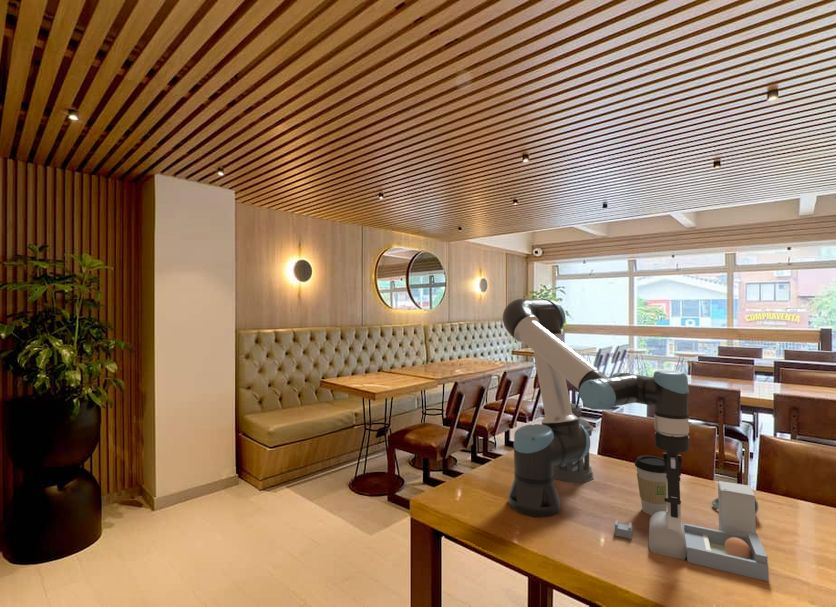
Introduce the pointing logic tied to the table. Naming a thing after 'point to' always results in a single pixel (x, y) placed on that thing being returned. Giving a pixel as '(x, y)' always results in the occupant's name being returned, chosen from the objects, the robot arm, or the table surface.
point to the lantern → (578, 469)
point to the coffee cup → (651, 483)
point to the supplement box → (736, 508)
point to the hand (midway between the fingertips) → (673, 517)
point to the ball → (737, 548)
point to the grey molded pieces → (702, 546)
